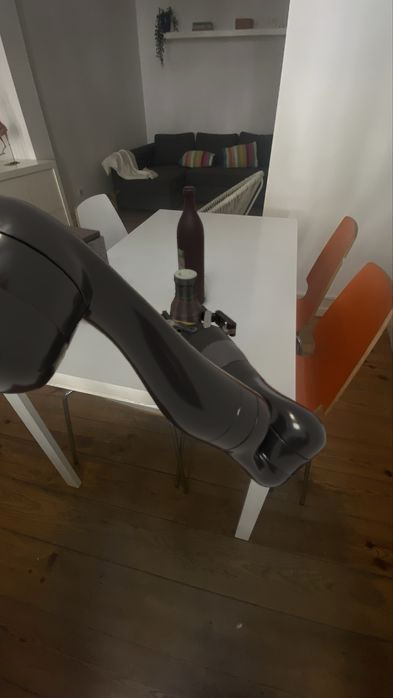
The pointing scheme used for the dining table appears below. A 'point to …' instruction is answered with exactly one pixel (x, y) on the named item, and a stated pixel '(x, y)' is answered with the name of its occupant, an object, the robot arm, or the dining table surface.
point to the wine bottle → (191, 241)
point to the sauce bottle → (185, 298)
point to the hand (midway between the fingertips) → (180, 311)
